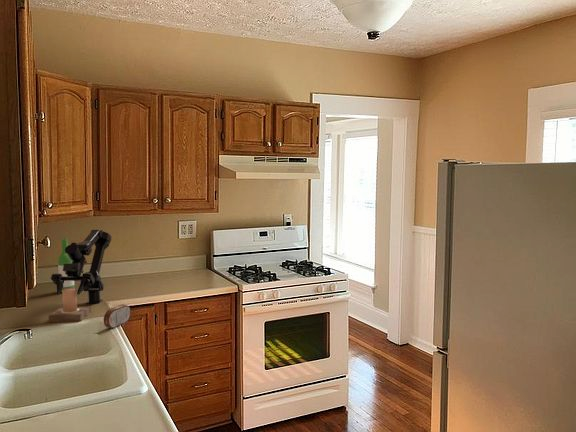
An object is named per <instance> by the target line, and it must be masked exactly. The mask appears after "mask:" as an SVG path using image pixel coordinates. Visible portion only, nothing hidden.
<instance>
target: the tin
mask: <svg viewBox="0 0 576 432" xmlns="http://www.w3.org/2000/svg"><path fill="white" fill-rule="evenodd" d="M131 313H132V312H131V307H130V306H129V305H127V304H120V305H116V306H113V307H110V308H108V309H107V311H106V312H105V313H104V314H103V315H104V316H103V324H104V326H105V327H106V329H108V328H109V329H115V328H117V327H120V326H122V325H124V324H126V323H128V322H129V321H130V318H131Z"/></svg>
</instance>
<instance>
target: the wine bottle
mask: <svg viewBox="0 0 576 432" xmlns="http://www.w3.org/2000/svg"><path fill="white" fill-rule="evenodd" d="M67 246H68V238H62V239H61V254H60V255H59V256H58V258H57V266H58V274H61V275H62V276H67V275H66V274H65V271H63V265H64V264H71V263H72V260H70V258H69V257H68V255H67V254H66V252H65V248H66V247H67ZM65 288H76V287H75V281H64V283H63V288H62V289H65ZM60 293H62V290H61V292H60Z"/></svg>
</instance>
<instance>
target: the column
mask: <svg viewBox="0 0 576 432" xmlns="http://www.w3.org/2000/svg"><path fill="white" fill-rule="evenodd" d="M77 295H78V294H77V287H75V288H65V289H62V292H61V296H62V297H61V298H62V307H63V312H74V311H77V307H78V298H77Z"/></svg>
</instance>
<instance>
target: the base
mask: <svg viewBox="0 0 576 432" xmlns="http://www.w3.org/2000/svg"><path fill="white" fill-rule="evenodd" d="M91 307H92V306H90V305H89V306H77V311H74V312H63V306H62V307H58V308H57V309H56V310H55V311H54V312H52V313H50V314H49V315H48V316H47V318H48V323H69V322H82V321H83V320H84V319H85V318H87V317H88V316H89V315H90V314H91V313H92V308H91Z"/></svg>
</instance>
